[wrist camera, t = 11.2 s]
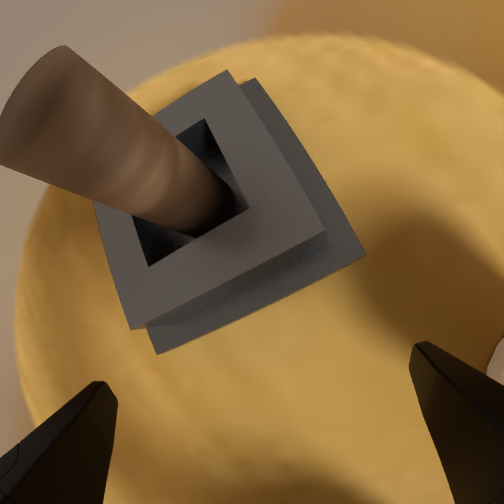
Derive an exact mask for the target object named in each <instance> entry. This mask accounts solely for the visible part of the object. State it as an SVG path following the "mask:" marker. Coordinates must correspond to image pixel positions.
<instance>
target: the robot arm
mask: <svg viewBox="0 0 504 504" xmlns="http://www.w3.org/2000/svg"><path fill="white" fill-rule="evenodd" d="M409 371H410V375H411V378H412V381H413V384H414V388H415V391H416V394H417V398H418V401H419V405H420V408H421V411H422V414H423V417H424V420H425V422H426V425H427V427H428V430H429V432H430V435H431V437H432V440H433V442H434V445H435V447H436V450H437V453H438V455H439V458H440V461H441V463H442V466H443V469H444V472H445V475H446V477H447V480H448V483H449V486H450V489H451V492H452V495H453V499H454V502H455V504H504V385H502V384H501V383H499V382H497V381H496V380H494V379H492V378H490V377H489V376H487V375H485V374H484V373H482V372H480V371H478V370H477V369H475V368H473V367H472V366H470V365H468V364H467V363H465V362H463V361H461V360H460V359H458V358H456V357H455V356H453V355H451V354H449V353H448V352H446V351H444V350H442V349H441V348H439V347H437V346H436V345H434V344H432V343H430V342H428V341H423V342H419V343H416V344H414V346H413V348H412V353H411V357H410V362H409ZM117 409H118V401H117V398H116V396H115V395H114V393H113V392H112V390H111V389H110V387H109V386H108V384H107V383H106V382H104V381H93V382H91V383H90V384H89V385H88V386H87V387H85V388H84V389H83V390H82V391H81V392H79V393H78V394H77V395H76V396H75V397H73V398H72V399H71V400H70V401H68V402H67V403H66V404H65V405H64V406H62V407H61V408H60V409H59V410H58V411H56V412H55V413H54V414H53V415H52V416H50V417H49V418H48V419H47V420H46V421H44V422H43V423H42V424H41V425H40V426H38V427H37V428H36V429H35V430H34V431H32V432H31V433H30V434H29V435H28V436H26V437H25V438H24V439H23V440H22V441H20V443H18V444H17V445H16V446H14V447H13V448H12V449H11V450H9V451H8V452H7V453H6V454H4V455H3V456H2V457H1V458H0V504H103V500H104V493H105V487H106V482H107V476H108V471H109V465H110V460H111V455H112V450H113V444H114V436H115V426H116V417H117Z"/></svg>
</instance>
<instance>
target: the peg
mask: <svg viewBox="0 0 504 504" xmlns="http://www.w3.org/2000/svg"><path fill="white" fill-rule="evenodd" d="M0 165H2V166H5V167H7V168H10V169H13V170H15V171H18V172H20V173H23V174H26V175H28V176H31V177H33V178H36V179H39V180H41V181H44V182H46V183H49V184H52V185H54V186H57V187H59V188H62V189H65V190H67V191H70V192H73V193H75V194H78V195H81V196H83V197H86V198H88V199H91V200H94V201H96V202H99V203H102V204H104V205H107V206H110V207H112V208H115V209H118V210H120V211H123V212H126V213H128V214H131V215H134V216H136V217H139V218H142V219H144V220H147V221H150V222H152V223H155V224H158V225H160V226H163V227H166V228H168V229H171V230H174V231H176V232H179V233H182V234H184V235H187V236H190V237H193V238H196V239H197V238H199V237H200V236H202V235H204V234H206V233H207V232H209V231H211V230H213V229H214V228H216V227H218V226H220V225H221V224H223V223H225V222H227V221H228V220H230V219H231V217H232V215H233V211H234V196H233V192H232V190H231V188H230V187H229V185H228V184H227V183H226V182H225V181H224V180H223V179H221V178H220V177H219V176H218V175H217V174H216V173H215V172H214V171H213V170H212V169H210V168H209V167H208V166H207V165H206V164H205V163H204V162H203V161H202V160H200V159H199V158H198V157H197V156H196V155H195V154H194V153H193V152H192V151H190V150H189V149H188V148H187V147H186V146H185V145H184V144H183V143H181V142H180V141H179V140H178V139H177V138H176V137H175V136H173V135H172V134H171V133H170V132H169V131H168V130H167V129H165V128H164V127H163V126H162V125H161V124H160V123H159V122H157V121H156V120H155V119H154V118H153V117H152V116H151V115H149V114H148V113H147V112H146V111H145V110H144V109H142V108H141V107H140V106H139V105H138V104H137V103H135V102H134V101H133V100H132V99H131V98H130V97H128V96H127V95H126V94H125V93H124V92H122V91H121V90H120V89H119V88H118V87H116V86H115V85H114V84H113V83H112V82H110V81H109V80H108V79H107V78H106V77H104V76H103V75H102V74H101V73H99V72H98V71H97V70H96V69H95V68H93V67H92V66H91V65H90V64H88V63H87V62H86V61H85V60H84V59H82V58H81V57H80V56H79V55H78V54H76V53H75V52H74V51H72V50H71V49H70V48H69V47H67V46H59V47H56V48H54V49H52V50H51V51H49V52H48V53H46V54H45V55H44V56H43V57H41V58H40V59H39V60H38V61H37V62H36V63H35V64H34V65H33V66H32V67H31V68H30V69H29V70H28V72H27V73H26V74H25V75H24V77H23V78H22V79H21V80H20V82H19V83H18V85H17V86H16V88H15V89H14V91H13V92H12V94H11V96H10V98H9V99H8V101H7V103H6V105H5V107H4V109H3V111H2V114H1V116H0Z"/></svg>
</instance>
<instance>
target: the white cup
mask: <svg viewBox="0 0 504 504" xmlns="http://www.w3.org/2000/svg"><path fill="white" fill-rule="evenodd" d="M486 375H487V376H489V377H490V378H492V379H494V380H496V381H497V382H499V383H501V384H502V385H504V338H503V339H502V340H501V341H500V342H499V343H498V345H497V347H496V349H495V351H494V354H493V356H492V358H491V360H490V363H489V365H488V367H487V373H486Z"/></svg>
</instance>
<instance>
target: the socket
mask: <svg viewBox="0 0 504 504" xmlns="http://www.w3.org/2000/svg"><path fill="white" fill-rule="evenodd" d="M152 117H153V118H154V119H155V120H156V121H157V122H159V123H160V124H161V125H162V126H163V127H164V128H165V129H167V130H168V131H169V132H170V133H171V134H172V135H173V136H175V137H176V138H177V139H178V140H179V141H180V142H181V143H183V144H184V145H185V146H186V147H187V148H188V149H189V150H190V151H192V152H193V153H194V154H195V155H196V156H197V157H198V158H199V159H200V160H202V161H203V162H204V163H205V164H206V165H207V166H208V167H209V168H210V169H212V170H213V171H214V172H215V173H216V174H217V175H218V176H219V177H220V178H221V179H223V180H224V181H225V182H226V183H227V184H228V185H229V187H230V188H231V190H232V192H233V196H234V211H233V215H232V217H231V219H230V220H228V221H227V222H225V223H223V224H221V225H220V226H218V227H216V228H214V229H213V230H211V231H209V232H207V233H206V234H204V235H202V236H200V237H199V238H197V239H196V238H193V237H190V236H187V235H184V234H182V233H179V232H176V231H174V230H171V229H168V228H166V227H163V226H160V225H158V224H155V223H152V222H150V221H147V220H144V219H142V218H139V217H136V216H134V215H131V214H128V213H126V212H123V211H120V210H118V209H115V208H112V207H110V206H107V205H104V204H102V203H99V202H96V201H94V200H93V204H94V209H95V213H96V217H97V222H98V226H99V230H100V234H101V238H102V241H103V245H104V249H105V253H106V256H107V260H108V263H109V267H110V270H111V273H112V277H113V280H114V283H115V286H116V289H117V293H118V296H119V299H120V302H121V305H122V307H123V310H124V313H125V316H126V319H127V322H128V324H129V327H130V330H137V329H144V328H146V329H147V332H148V334H149V337H150V340H151V342H152V344H153V347H154V349H155V352H156V354H157V355H158V354H162V353H165V352H167V351H170V350H172V349H175V348H177V347H179V346H182V345H184V344H186V343H188V342H191V341H193V340H195V339H198V338H200V337H202V336H204V335H207V334H209V333H211V332H213V331H216V330H218V329H220V328H222V327H224V326H227V325H229V324H231V323H233V322H235V321H237V320H239V319H242V318H244V317H246V316H248V315H250V314H252V313H254V312H256V311H259V310H261V309H263V308H265V307H267V306H269V305H271V304H273V303H275V302H277V301H279V300H281V299H283V298H285V297H287V296H289V295H291V294H293V293H295V292H297V291H299V290H301V289H303V288H305V287H307V286H309V285H311V284H313V283H315V282H317V281H319V280H321V279H323V278H325V277H327V276H329V275H331V274H333V273H335V272H336V271H338V270H340V269H342V268H344V267H346V266H348V265H350V264H352V263H353V262H355V261H357V260H359V259H361V258H363V257H364V256H365V255H366V254H365V252H364V250H363V248H362V246H361V244H360V242H359V240H358V238H357V237H356V235H355V233H354V231H353V229H352V227H351V226H350V224H349V222H348V220H347V218H346V217H345V215H344V213H343V211H342V209H341V208H340V206H339V204H338V203H337V201H336V199H335V197H334V196H333V194H332V192H331V191H330V189H329V187H328V186H327V184H326V182H325V181H324V179H323V177H322V176H321V174H320V172H319V171H318V169H317V167H316V166H315V164H314V163H313V161H312V159H311V158H310V156H309V155H308V153H307V152H306V150H305V148H304V147H303V145H302V144H301V142H300V141H299V139H298V138H297V136H296V135H295V133H294V132H293V130H292V129H291V127H290V126H289V124H288V123H287V121H286V120H285V118H284V117H283V116H282V114H281V113H280V111H279V110H278V108H277V107H276V105H275V104H274V103H273V101H272V100H271V98H270V97H269V96H268V94H267V93H266V92H265V90H264V89H263V87H262V86H261V85H260V83H259V82H258V81H257V79H256V78H253V79H251V80H249V81H247V82H246V83H244V84H242V85H240V86H238V85H237V83H236V82H235V80H234V79H233V77H232V76H231V74H230V73H229V72H228V70H225V71H223V72H222V73H220V74H218V75H216V76H215V77H213V78H211V79H210V80H208V81H206V82H204V83H203V84H201V85H199V86H198V87H196V88H195V89H193V90H191V91H190V92H188V93H187V94H185V95H183V96H182V97H180V98H179V99H177V100H176V101H174V102H173V103H171V104H170V105H168V106H167V107H165V108H164V109H162V110H161V111H159V112H158V113H157V114H155V115H154V116H152Z"/></svg>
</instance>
